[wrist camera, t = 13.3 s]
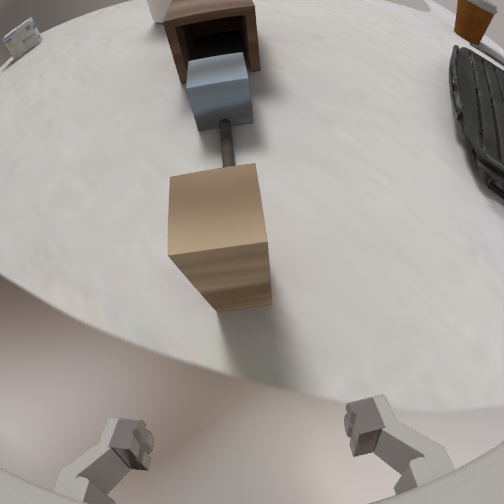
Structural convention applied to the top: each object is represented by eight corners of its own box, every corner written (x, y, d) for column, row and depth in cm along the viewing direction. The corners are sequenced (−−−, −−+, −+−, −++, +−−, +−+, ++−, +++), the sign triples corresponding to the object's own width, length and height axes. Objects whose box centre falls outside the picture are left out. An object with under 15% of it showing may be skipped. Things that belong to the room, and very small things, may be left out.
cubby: (260, 70, 28) (254, 5, 21) (181, 83, 29) (162, 21, 21) (246, 26, 35) (240, -20, 27) (187, 36, 35) (176, -10, 27)
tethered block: (283, 302, 18) (289, 238, 10) (204, 312, 18) (148, 258, 10) (247, 92, 27) (238, 15, 19) (198, 100, 27) (179, 26, 19)
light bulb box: (42, 38, 56) (31, 16, 46) (41, 42, 54) (29, 18, 44) (17, 56, 55) (5, 35, 45) (14, 61, 52) (1, 39, 42)
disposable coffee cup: (460, 27, 38) (470, -10, 27) (490, 49, 35) (504, 11, 24) (439, 25, 37) (450, -18, 26) (473, 48, 34) (488, 3, 23)
